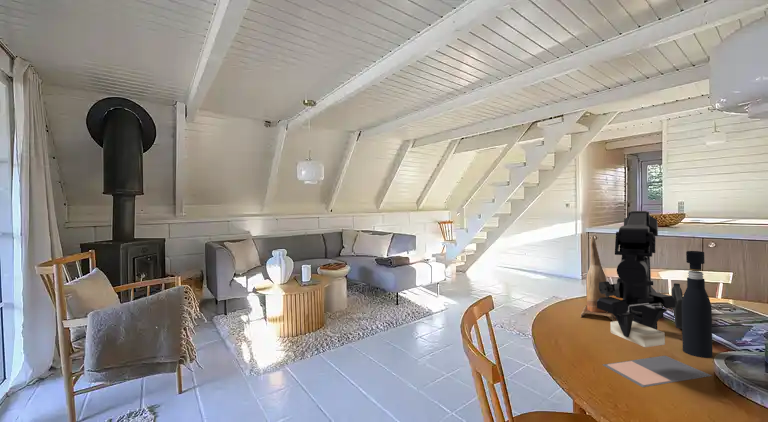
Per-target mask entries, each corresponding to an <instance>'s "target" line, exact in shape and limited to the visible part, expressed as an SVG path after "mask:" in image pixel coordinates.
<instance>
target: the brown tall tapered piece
mask: <svg viewBox="0 0 768 422" xmlns="http://www.w3.org/2000/svg"><path fill="white" fill-rule="evenodd" d="M600 260H601V259H600V256H599V252H598V247H597V243H596V237H595V235H591V237H590V266H589V268H588V271H587V274H586V305H585V306H583V307H582V308H583V309H582V311H581V313H580V318H582V317H584V315H587V314H589V315H597V316H605V317H608V318H609V319H610V320H612V322H613V321H615V319H616V317H615V316H614V314H612V313H609V312H607V311H604V310H601V309H598V308H597V300H598V299H599V298H603V297H606V295H605V294H601V293H600V291H599V282H606V281H607V278H606V275H605V273H604V269H603V267H602V263H601V261H600Z"/></svg>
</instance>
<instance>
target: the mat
mask: <svg viewBox="0 0 768 422" xmlns="http://www.w3.org/2000/svg"><path fill="white" fill-rule="evenodd" d="M602 366H604V367H606V368H607V369H609V370H610V371H613V372H614V373H616V374H618V375H619V376H622V377H623V378H624V379H626V380H629V381H630V382H632V383H633V384H635V385H637V386H639V387H641V388H646V387H653V386H658V385H663V384H669V383H676V382H683V381H688V380H689V381H690V380H696V379H701V378H707V377H712V376H713V375H712V374H709V373H707V372H705V371H703V370H700V369H698V368H695V367H692V366H690V365H689V364H686V363H684V362H682V361H680V360H677V359H674V358H672V357H670V356H667V355H660V356H652V357H646V358H639V359H631V360H625V361H619V362H618V361H617V362H611V363H605V364H602Z"/></svg>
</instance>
